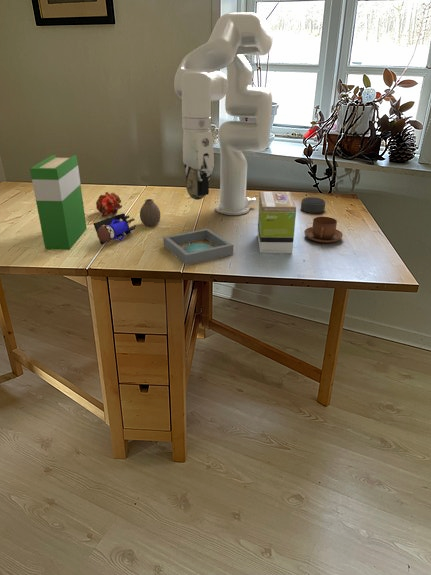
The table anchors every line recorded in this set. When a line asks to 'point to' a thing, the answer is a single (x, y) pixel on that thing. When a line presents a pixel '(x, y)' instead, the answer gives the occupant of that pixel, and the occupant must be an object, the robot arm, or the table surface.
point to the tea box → (276, 222)
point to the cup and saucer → (323, 230)
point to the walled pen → (198, 246)
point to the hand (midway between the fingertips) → (197, 191)
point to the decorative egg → (193, 184)
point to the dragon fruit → (108, 204)
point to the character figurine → (113, 228)
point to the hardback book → (59, 201)
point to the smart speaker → (313, 205)
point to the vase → (150, 213)
